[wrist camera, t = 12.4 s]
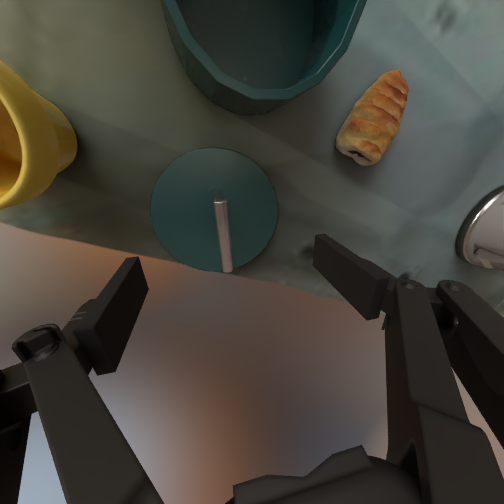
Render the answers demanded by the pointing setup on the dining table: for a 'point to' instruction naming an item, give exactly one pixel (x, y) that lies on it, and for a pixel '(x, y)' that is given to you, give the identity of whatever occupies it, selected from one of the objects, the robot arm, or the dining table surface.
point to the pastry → (374, 120)
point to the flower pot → (30, 140)
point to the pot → (259, 47)
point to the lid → (214, 209)
